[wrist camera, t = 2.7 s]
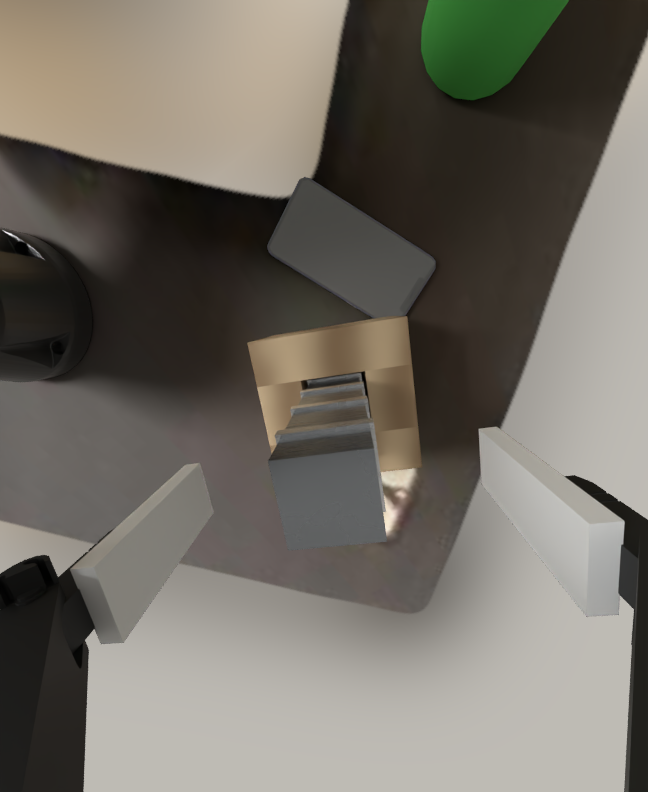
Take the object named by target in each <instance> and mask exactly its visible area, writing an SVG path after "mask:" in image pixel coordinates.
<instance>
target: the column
mask: <svg viewBox="0 0 648 792" xmlns="http://www.w3.org/2000/svg"><path fill="white" fill-rule="evenodd" d="M307 384H308V387H307V389H306V390H301V392H300V395H301V400H300V402H299V404H298V406H292V407H291V409H290V411H291V416H292V417H291V419H290V421H289V423H288V425H287V427H286V428H285V430H278V431H277V432H276V434H275V439H276V444H277V445H276V447H275V449H274V451H273V453H272V455H271V457H270V459H269V460H268V463H269V468H270V472H271V476H272V481H273V485H274V490H275V494H276V499H277V503H278V508H279V512H280V516H281V521H282V525H283V530H284V534H285V539H286V543H287V548H288V551H289V550H299V549H310V548H321V547H332V546H343V545H354V544H364V543H375V542H386V541H387V538H386V531H385V523H384V516H383V512H386V509H385V502H384V494H383V487H382V479H381V472H380V464H379V457H378V449H377V442H376V435H375V427H374V421H373V418H370V412H369V405H368V398H367V396H365V389H364V383H363V382H362V377H361V372H356V373H349V374H342V375H336V376H329V377H322V378H316V379H309V380H307Z"/></svg>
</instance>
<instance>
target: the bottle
mask: <svg viewBox="0 0 648 792" xmlns="http://www.w3.org/2000/svg"><path fill="white" fill-rule="evenodd" d="M568 1H569V0H429V1H428V5H427V9H426V13H425V17H424V21H423V24H422V38H421V52H422V56H423V60H424V63H425V67H426V71H427V73H428V74H429V76H430V77H431V79H432V80H433V81H434V83H435V84H436V86H437V87H438V88H439V89H440V90H442V91H444V92H445V93H447V94H448V95H450V96H452V97H453V98H458V99H466V100H476V99H479V98H483V97H486V96H490V95H493V94H494V93H495V92H497V91H498V90H500V89H501V88H502V87H504V86H505V85H507V84H508V83H509V82H510V81H511V80H512V79H513V77H514V76H515V75H516V73H517V72H518V71H519V70H520V68H521V67H522V66H523V64H524V63H525V62H526V60H527V59H528V57H529V56H530V55H531V53H532V52H533V50H534V49H535V48H536V46H537V45H538V43H539V42H540V41H541V39H542V38H543V36H544V35H545V34H546V32H547V31H548V29H549V28H550V27H551V25H552V24H553V22H554V21H555V20H556V18H557V17H558V15H559V14H560V13H561V11H562V10H563V8H564V7H565V6H566V4H567V3H568Z"/></svg>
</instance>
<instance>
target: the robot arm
mask: <svg viewBox="0 0 648 792" xmlns="http://www.w3.org/2000/svg"><path fill="white" fill-rule="evenodd" d="M91 334H92V312H91V306H90V302H89V298H88V295H87V292H86V290H85V288H84V285H83V283H82V281H81V280H80V278H79V276H78V274H77V273H76V272H75V270H74V269H73V267H72V266H71V265H70V264H69V262H68V261H67V260H66V259H65V258H64V257H63V256H62V255H61V254H60V253H59V252H58V251H56V250H55V249H54V248H53V247H51V246H50V245H48V244H47V243H45V242H43V241H42V240H40V239H38V238H36V237H33V236H31V235H28V234H24V233H21V232H17V231H13V230H9V229H5V228H0V380H2V381H12V382H31V381H38V380H42V379H47V378H52V377H56V376H59V375H62V374H64V373H66V372H67V371H69V370H71V369H72V368H73V367H74V366H75V365H76V364H77V363H78V362H79V361H80V360H81V359H82V357H83V356H84V354H85V352H86V350H87V348H88V346H89V343H90V339H91ZM479 446H480V465H481V482H482V483H481V484H482V486H483V487H484V488H485V490H486V491H487V492H488V493H489V495H490V496H491V497H492V498H493V500H494V501H495V502H496V503H497V505H498V506H499V507H500V508H501V510H502V511H503V512H504V513H505V515H506V516H507V517H508V519H509V520H510V521H511V522H512V524H513V525H514V526H515V527H516V529H517V530H518V531H519V532H520V534H521V535H522V536H523V537H524V539H525V540H526V541H527V542H528V544H529V545H530V546H531V547H532V549H533V550H534V551H535V553H536V554H537V555H538V556H539V558H540V559H541V560H542V561H543V563H544V564H545V565H546V566H547V568H548V569H549V570H550V571H551V573H552V574H553V575H554V576H555V578H556V579H557V580H558V582H559V583H560V584H561V585H562V586H563V588H564V589H565V590H566V592H567V593H568V594H569V595H570V597H571V598H572V599H573V600H574V602H575V603H576V604H577V605H578V607H579V608H580V609H581V610H582V612H583V613H584V614H585V615H586V617H589V616H606V615H619V601H620V596H621V597H622V598H623V599H624V600H625V601H626V602H627V603H628V604H629V605H630V606H631V607H632V608H633V609H634V619H633V631H632V643H631V644H632V656H631V657H632V658H631V674H630V693H629V712H628V731H627V750H626V769H625V788H624V792H648V520H647V519H646V518H644V517H643V516H641V515H640V514H638V513H637V512H635V511H634V510H632V509H631V508H630V507H628V506H626V505H625V504H624V503H622V502H621V501H618V500H617V499H616V498H614V497H613V496H612V495H610V494H607V493H606V491H604V490H603V489H601V488H600V487H598V486H597V485H596V484H594V483H592V482H590V481H588V480H585V479H582V478H580V477H577V476H575V475H574V476H563V475H561V474H560V473H559V472H557V471H556V470H555V469H553V468H552V467H551V466H549V465H548V464H547V463H545V462H544V461H543V460H541V459H540V458H538V457H537V456H536V455H534V454H533V453H532V452H530V451H529V450H527V449H526V448H525V447H524V446H522V445H521V444H520V443H518V442H517V441H515V440H514V439H513V438H511V437H510V436H509V435H507V434H506V433H505V432H503V431H502V430H501V429H499V428H498V427H489V428H481V429H479ZM213 513H214V512H213V508H212V504H211V501H210V497H209V494H208V490H207V486H206V483H205V479H204V475H203V472H202V468H201V465H200V463H196V464H188V465H185V466H184V467H182V468H181V469H180V470H179V471H178V472H177V473H176V474H175V475H174V476H173V477H171V478H170V479H169V480H168V481H167V482H166V483H165V484H164V485H163V486H161V487H160V488H159V489H158V490H157V491H156V492H155V493H154V494H153V495H152V496H150V497H149V498H148V499H147V500H146V501H145V502H144V503H143V504H142V505H140V506H139V507H138V508H137V509H136V510H135V511H134V512H133V513H132V514H131V515H129V516H128V517H127V518H126V519H125V520H124V521H123V522H122V523H121V524H119V525H118V526H117V527H116V528H114V529H113V530H111V531H110V532H108V533H107V534H106V535H105V536H104V537H103V538H102V539H101V540H99V541H98V544H95V545H94V546H93V547H92V548H90V549H89V552H86V553H85V554H84V555H83V556H82V557H80V558H79V559H78V560H77V561H76V562H75V563H74V564H73V565H72V566H70V568H68V569H67V570H66V571H65V572H64V573H63V574H61V575H60V576H59V577H58V576H57V574H56V572H55V569H54V567H53V565H52V562H51V561H50V558H49V556H46V555H41V556H35V557H32V558H29V559H27V560H24V561H22V562H20V563H18V564H16V565H14V566H12V567H11V568H9V569H7V570H6V571H4V572H2V573H1V574H0V792H83V787H84V761H85V734H86V708H87V681H88V655H89V650H88V647H87V644H86V642H85V639H86V638H87V637H88V636H89V634H90V633H91V632H92V631H93V629H95V631H96V634H97V636H98V638H99V641H100V643H101V644H110V643H124V641H125V640H126V638H127V637H128V635H129V634H130V632H131V631H132V630H133V628H134V627H135V625H136V624H137V622H138V621H139V619H140V618H141V617H142V615H143V614H144V612H145V611H146V609H147V608H148V607H149V605H150V604H151V602H152V601H153V599H154V598H155V596H156V595H157V594H158V592H159V591H160V589H161V588H162V586H163V585H164V583H165V582H166V581H167V579H168V578H169V576H170V575H171V573H172V572H173V570H174V569H175V568H176V566H177V565H178V563H179V562H180V560H181V559H182V557H183V556H184V555H185V553H186V552H187V550H188V549H189V547H190V546H191V544H192V543H193V542H194V540H195V539H196V537H197V536H198V534H199V533H200V531H201V530H202V529H203V527H204V526H205V524H206V523H207V521H208V520H209V518H210V517H211V515H212V514H213Z"/></svg>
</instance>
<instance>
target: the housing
mask: <svg viewBox="0 0 648 792" xmlns="http://www.w3.org/2000/svg"><path fill="white" fill-rule="evenodd" d="M248 348H249V352H250V357H251V362H252V366H253V371H254V375H255V380H256V384H257V389H258V393H259V398H260V402H261V407H262V411H263V416H264V421H265V425H266V430H267V434H268V439H269V443H270V448H271V452H272V453H273V451H274V449H275V447H276V445H277V444H276V439H275V434H276V432H277V431H278V430H285V428H286V427H287V425H288V423H289V421H290V419H291V417H292V416H291V411H290V409H291V407H292V406H298V404H299V402H300V400H301V395H300V392H301V390H306V389H307V387H308V384H307V380H309V379H316V378H322V377H329V376H336V375H342V374H349V373H356V372H362V375H363V382H364V389H365V396H367V398H368V405H369V412H370V418H373V421H374V427H375V435H376V442H377V449H378V457H379V464H380V472H385V471H393V470H402V469H411V468H419V467H422V461H421V451H420V441H419V431H418V421H417V411H416V401H415V390H414V380H413V370H412V360H411V350H410V340H409V330H408V319H407V316H388V317H382V318H376V319H369V320H363V321H357V322H351V323H345V324H339V325H333V326H327V327H321V328H315V329H309V330H303V331H297V332H291V333H285V334H279V335H273V336H270V337H266V338H263V339H259V340H256V341H252V342H249V343H248Z"/></svg>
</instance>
